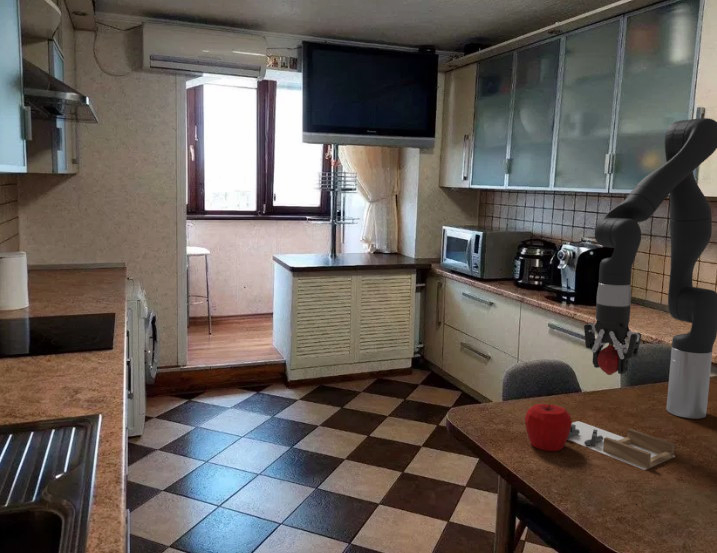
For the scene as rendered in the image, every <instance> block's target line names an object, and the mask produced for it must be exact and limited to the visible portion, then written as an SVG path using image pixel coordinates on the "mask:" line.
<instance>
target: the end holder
mask: <svg viewBox="0 0 717 553" xmlns="http://www.w3.org/2000/svg"><path fill="white" fill-rule="evenodd" d="M629 444H633V445H636V446H639V447H641V448H644V449H647V450H649V451H652V452H655V453H658V454H659V455H656V456H654V457H652V458H651V453H648V452H646V451H643V450H640V449H638V448H635V447H632V446H629ZM674 448H675V443H673V442H671V441H669V440H668V441H667V440H664V439H661V438H658V437H656V436H654V435H649V434H648V433H647V434H646V433H645V432H641V431H639V430H636V429H633V428H628V429H627V435H626V437H624V438H623V439H621V440H618V441H616V440H613V439H611V438H608V437H606V438H604V446H603V451H604V452H606V453H609V454H611V455H614V456H616V457H619V458H621V459H624V460H627V461H629V462H632V463H634V464H637V465H639V466H642V467H644V468H648V469H651V468H652V467H654V465H655V466H657V465H659V464H662V463H664V462H666V461H668V460H670V459H672V457H673V455H674V451H675V449H674ZM673 458H674V457H673ZM665 460H666V461H665ZM663 461H664V462H663ZM656 464H657V465H656Z"/></svg>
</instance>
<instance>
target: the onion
mask: <svg viewBox="0 0 717 553" xmlns="http://www.w3.org/2000/svg"><path fill="white" fill-rule="evenodd" d="M619 359H620V357H619V354H618V351H617V350H616V349H615V347H614V345H612V344H610V343H608V345H607V346H605V347H603V349H602V350H601V351H600V353H599V354H598V358H597V362H598V365H599V368H600V370H601V371H603V373H605V374H606V375H607V376H612V375H613V374H615V373H616V372H617V373H618V363H619Z"/></svg>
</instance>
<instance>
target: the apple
mask: <svg viewBox="0 0 717 553" xmlns="http://www.w3.org/2000/svg"><path fill="white" fill-rule="evenodd" d="M524 422H525V429H526V433H527V436H528V439H529V442H530V444H531V445H532V446H533V447H534V448H537V449H538V450H541V451H546V452H557V451H560V450H562V449H563V448H564V447H565V445H566V442H567V441H568V440H567V438H568V435H569V432H570V428H571V424H572V423H573V422H572V418H571V413H569V412H568V410H566V409H565V408H564V407H561V406H559V405H555V404H551V403H549V404H548V403H546V404H545V403H537V404H533V406H531V407H530V408H528V409H527V411H526V414H525V416H524Z"/></svg>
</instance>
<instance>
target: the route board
mask: <svg viewBox="0 0 717 553" xmlns="http://www.w3.org/2000/svg"><path fill="white" fill-rule="evenodd" d="M606 437H608V438H611V439H613V440H616V441H618V440H621V439H623V438H625V437H624V436H621V435H618V434H615V433H613V432H610V431H609V430H604V429H602V428H599V427H597V426H594V425H590V424H588V423H585V422H582V421H579V420H578V421H577V420H576V421H574V422H572V424H571V428H570V432H569V435H568V438H567V440H566V441H570V442H573V443H574V444H578V445H580V446H583V447H586V448H588V449H590V450H592V451H595V452H598V453H600V454H603V455H606V456H609V457H610V458H613V459H616V460H618V461H621V462H622V463H625V464H629V465H631V466H632V467H633V466H634V467H635V468H638V469H641V470H643V471H646V470H649V468H644V467H642V466H639V465H637V464H634V463H632V462H629V461H627V460H624V459H621V458H619V457H616V456H614V455H611V454H609V453H606V452H604V451H603V446H604V438H606ZM629 446H632V447H635V448H638V449H640V450H643V451H646V452H648V453H651V458H652V457H654V456H656V455H659V454H658V453H655V452H652V451H649V450H647V449H644V448H641V447H639V446H636V445H633V444H629ZM675 457H676V455H674V454H673V457H672V458H675ZM672 458H671V459H672ZM666 461H667V460H665V461H663V462H662V463H664V462H666ZM654 466H658V464H656V465H654ZM654 466H653V467H654Z"/></svg>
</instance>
